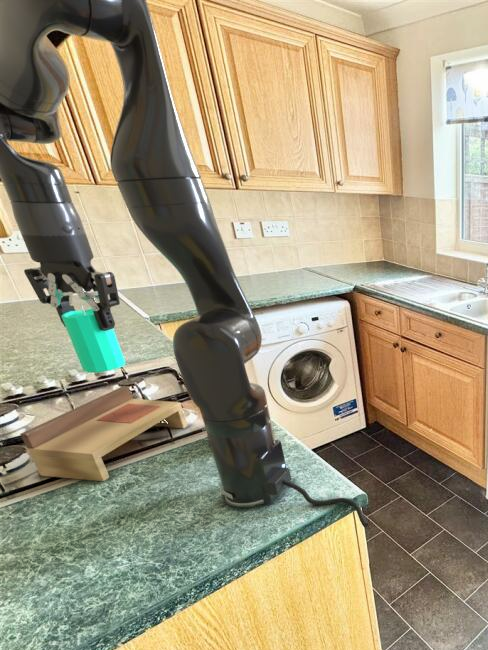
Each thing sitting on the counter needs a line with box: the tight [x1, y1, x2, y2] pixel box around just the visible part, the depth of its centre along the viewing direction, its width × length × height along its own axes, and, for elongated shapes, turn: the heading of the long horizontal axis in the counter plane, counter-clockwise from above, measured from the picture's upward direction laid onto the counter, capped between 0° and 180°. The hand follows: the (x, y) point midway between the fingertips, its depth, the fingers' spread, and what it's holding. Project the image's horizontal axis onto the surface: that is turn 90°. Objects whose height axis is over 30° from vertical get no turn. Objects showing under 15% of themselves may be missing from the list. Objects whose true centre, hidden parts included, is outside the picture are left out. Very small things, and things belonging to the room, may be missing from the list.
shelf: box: [20, 385, 188, 482], centre depth 84 cm, size 12×20×9 cm, turn 176°
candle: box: [61, 303, 126, 373], centre depth 77 cm, size 6×6×12 cm
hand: (90, 327), depth 76 cm, fingers closed on candle, 6 cm apart
